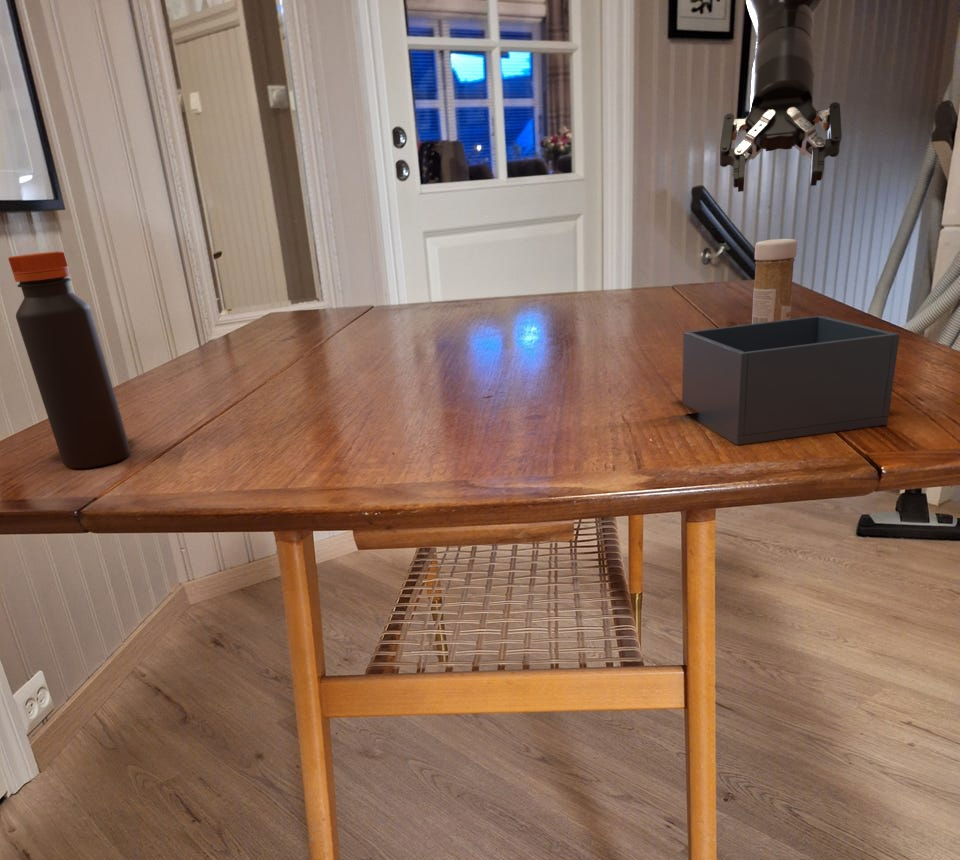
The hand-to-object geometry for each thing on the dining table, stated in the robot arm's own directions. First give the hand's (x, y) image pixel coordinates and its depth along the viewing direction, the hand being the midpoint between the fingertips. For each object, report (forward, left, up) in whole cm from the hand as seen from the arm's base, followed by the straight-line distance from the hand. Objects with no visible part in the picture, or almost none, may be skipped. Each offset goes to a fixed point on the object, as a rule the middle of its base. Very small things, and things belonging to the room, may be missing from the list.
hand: (777, 183), depth 106 cm
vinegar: (+83, +17, -19) cm, 87 cm away
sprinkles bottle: (+5, +10, -19) cm, 22 cm away
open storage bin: (+16, +35, -19) cm, 43 cm away
